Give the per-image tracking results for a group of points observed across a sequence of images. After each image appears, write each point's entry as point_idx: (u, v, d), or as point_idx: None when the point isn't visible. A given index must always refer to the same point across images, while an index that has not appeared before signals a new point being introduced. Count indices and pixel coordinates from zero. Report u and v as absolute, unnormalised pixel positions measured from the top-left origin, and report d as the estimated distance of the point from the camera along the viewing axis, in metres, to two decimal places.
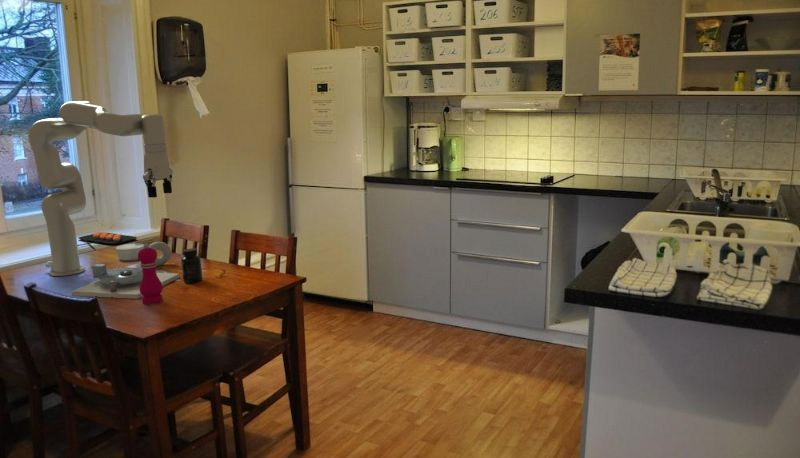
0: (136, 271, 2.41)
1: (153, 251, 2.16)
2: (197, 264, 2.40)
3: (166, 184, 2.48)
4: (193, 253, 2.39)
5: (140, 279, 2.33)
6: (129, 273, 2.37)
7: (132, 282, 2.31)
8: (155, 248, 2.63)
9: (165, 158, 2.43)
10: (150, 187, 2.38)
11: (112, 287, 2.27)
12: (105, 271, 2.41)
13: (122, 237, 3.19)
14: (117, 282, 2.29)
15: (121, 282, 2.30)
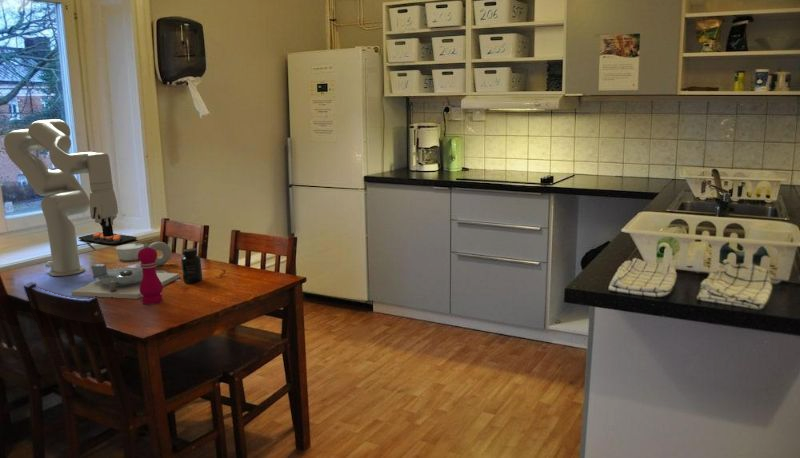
0: (136, 271, 2.41)
1: (153, 251, 2.16)
2: (197, 264, 2.40)
3: None
4: (193, 253, 2.39)
5: (140, 279, 2.33)
6: (129, 273, 2.37)
7: (132, 282, 2.31)
8: (155, 248, 2.63)
9: (112, 196, 2.43)
10: (104, 227, 2.42)
11: (112, 287, 2.27)
12: (105, 271, 2.41)
13: (122, 237, 3.19)
14: (117, 282, 2.29)
15: (121, 282, 2.30)
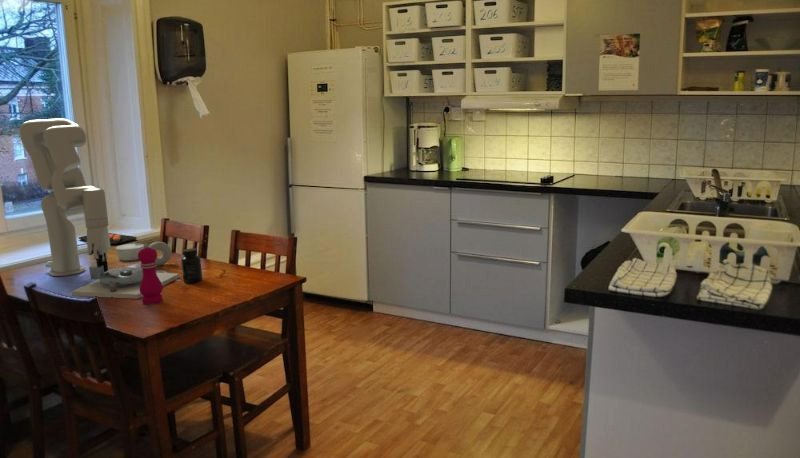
0: (135, 271, 2.42)
1: (153, 251, 2.16)
2: (197, 264, 2.40)
3: None
4: (193, 253, 2.39)
5: None
6: (130, 273, 2.37)
7: (136, 281, 2.32)
8: (155, 248, 2.63)
9: (106, 231, 2.41)
10: (100, 262, 2.40)
11: (112, 287, 2.27)
12: (103, 272, 2.39)
13: (122, 237, 3.19)
14: (121, 282, 2.30)
15: (125, 282, 2.30)
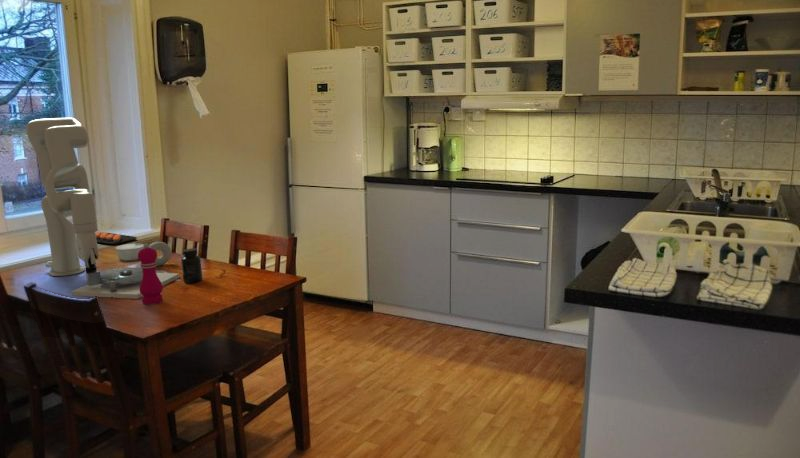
0: None
1: (153, 251, 2.16)
2: (197, 264, 2.40)
3: None
4: (193, 253, 2.39)
5: None
6: (132, 272, 2.39)
7: None
8: (155, 248, 2.63)
9: None
10: (92, 268, 2.32)
11: (112, 287, 2.27)
12: None
13: (122, 237, 3.19)
14: (141, 278, 2.33)
15: None
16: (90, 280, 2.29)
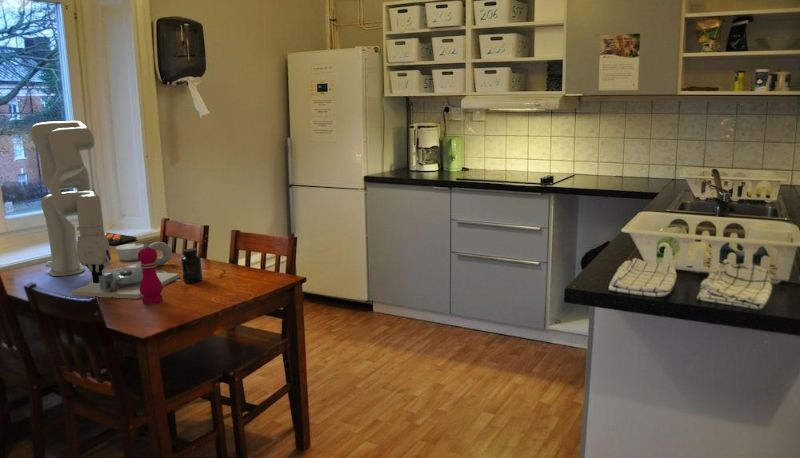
0: (119, 272, 2.40)
1: (153, 251, 2.16)
2: (197, 264, 2.40)
3: None
4: (193, 253, 2.39)
5: None
6: None
7: None
8: (155, 248, 2.63)
9: None
10: (100, 271, 2.28)
11: (112, 287, 2.27)
12: None
13: (122, 237, 3.19)
14: None
15: None
16: (106, 282, 2.26)
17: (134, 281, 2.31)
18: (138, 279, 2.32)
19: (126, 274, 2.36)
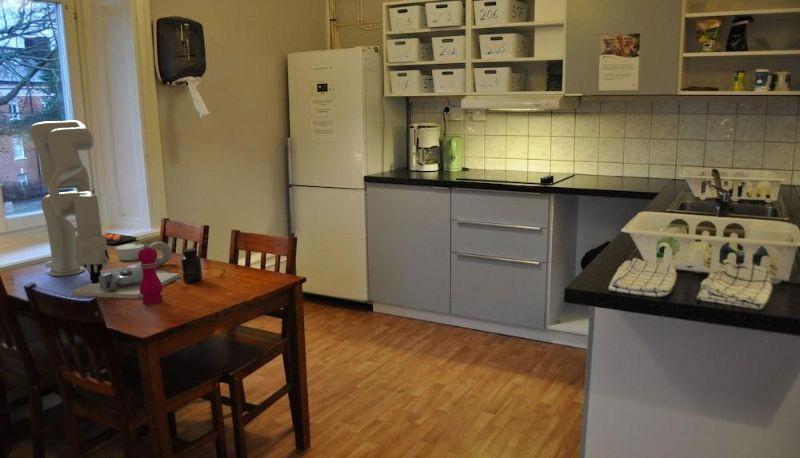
0: (119, 272, 2.40)
1: (153, 251, 2.16)
2: (197, 264, 2.40)
3: None
4: (193, 253, 2.39)
5: None
6: None
7: None
8: (155, 248, 2.63)
9: None
10: (99, 272, 2.28)
11: (112, 287, 2.27)
12: None
13: (122, 237, 3.19)
14: None
15: None
16: (106, 282, 2.26)
17: (134, 281, 2.31)
18: (138, 279, 2.32)
19: (126, 274, 2.36)
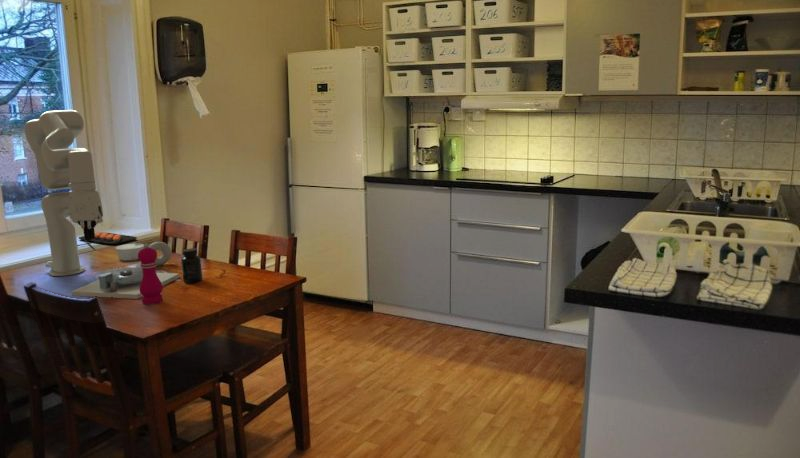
0: (119, 272, 2.40)
1: (153, 251, 2.16)
2: (197, 264, 2.40)
3: None
4: (193, 253, 2.39)
5: None
6: None
7: None
8: (155, 248, 2.63)
9: None
10: (92, 228, 2.27)
11: (112, 287, 2.27)
12: None
13: (122, 237, 3.19)
14: None
15: None
16: (106, 282, 2.26)
17: (134, 281, 2.31)
18: (138, 279, 2.32)
19: (126, 274, 2.36)
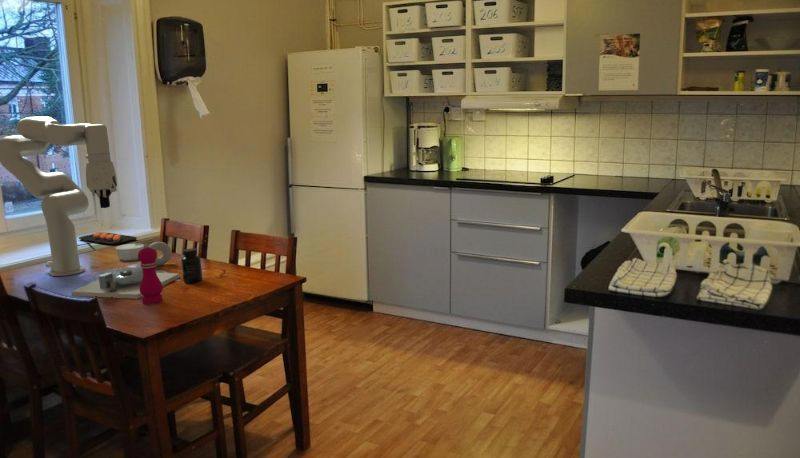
0: (119, 272, 2.40)
1: (153, 251, 2.16)
2: (197, 264, 2.40)
3: None
4: (193, 253, 2.39)
5: None
6: None
7: None
8: (155, 248, 2.63)
9: None
10: (108, 197, 2.45)
11: (112, 287, 2.27)
12: None
13: (122, 237, 3.19)
14: None
15: None
16: (106, 282, 2.26)
17: (134, 281, 2.31)
18: (138, 279, 2.32)
19: (126, 274, 2.36)
